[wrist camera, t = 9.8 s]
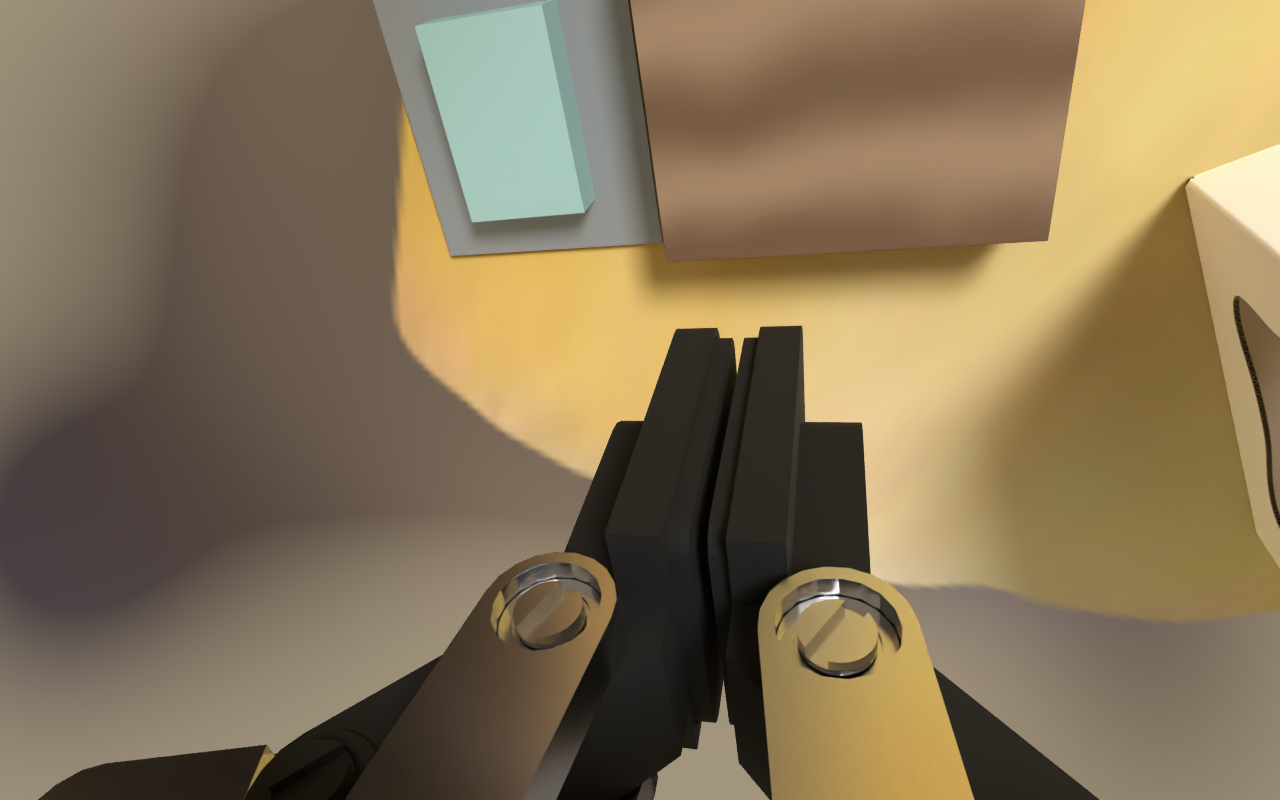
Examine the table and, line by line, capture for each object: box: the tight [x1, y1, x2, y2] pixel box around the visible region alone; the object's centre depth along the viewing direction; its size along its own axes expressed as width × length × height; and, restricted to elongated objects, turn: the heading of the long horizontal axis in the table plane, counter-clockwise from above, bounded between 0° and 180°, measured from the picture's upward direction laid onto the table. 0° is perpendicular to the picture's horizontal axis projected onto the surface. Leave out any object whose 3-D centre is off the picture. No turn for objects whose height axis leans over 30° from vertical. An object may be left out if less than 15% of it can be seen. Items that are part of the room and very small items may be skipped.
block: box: [415, 0, 595, 222], centre depth 35 cm, size 9×6×2 cm, turn 9°
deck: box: [630, 0, 1085, 262], centre depth 30 cm, size 14×16×4 cm
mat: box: [373, 0, 663, 256], centre depth 36 cm, size 15×12×1 cm
